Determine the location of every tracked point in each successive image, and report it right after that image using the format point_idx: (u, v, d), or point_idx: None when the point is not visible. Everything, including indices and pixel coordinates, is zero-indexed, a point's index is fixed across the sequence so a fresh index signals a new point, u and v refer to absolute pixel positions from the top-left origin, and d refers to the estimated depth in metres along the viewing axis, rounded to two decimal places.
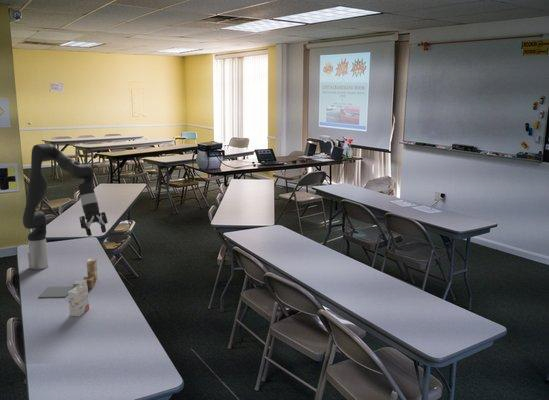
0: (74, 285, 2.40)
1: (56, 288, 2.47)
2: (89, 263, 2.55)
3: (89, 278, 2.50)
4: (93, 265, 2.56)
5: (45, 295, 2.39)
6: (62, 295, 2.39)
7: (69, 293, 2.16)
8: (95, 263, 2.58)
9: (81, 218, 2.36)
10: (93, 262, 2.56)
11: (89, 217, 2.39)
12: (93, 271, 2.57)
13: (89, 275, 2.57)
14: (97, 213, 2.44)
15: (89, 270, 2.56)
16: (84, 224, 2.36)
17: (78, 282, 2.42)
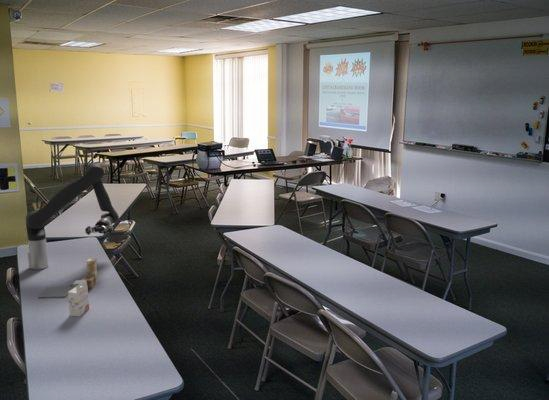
0: (74, 285, 2.40)
1: (56, 288, 2.47)
2: (89, 263, 2.56)
3: (89, 278, 2.50)
4: (93, 265, 2.56)
5: (45, 295, 2.39)
6: (62, 295, 2.39)
7: (69, 293, 2.16)
8: (95, 263, 2.58)
9: (112, 228, 2.76)
10: (93, 262, 2.56)
11: None
12: (93, 271, 2.57)
13: (89, 275, 2.57)
14: None
15: (89, 270, 2.56)
16: (110, 231, 2.73)
17: (78, 282, 2.42)
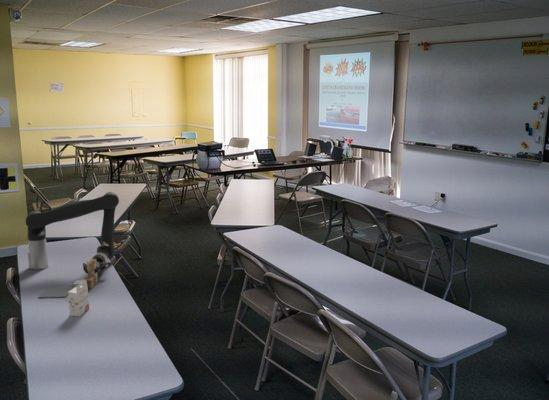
0: (74, 285, 2.40)
1: (56, 288, 2.47)
2: (89, 263, 2.55)
3: (89, 278, 2.50)
4: (93, 265, 2.56)
5: (45, 295, 2.39)
6: (62, 295, 2.39)
7: (69, 293, 2.16)
8: (95, 263, 2.58)
9: (107, 266, 2.65)
10: (93, 262, 2.56)
11: None
12: (93, 271, 2.57)
13: (89, 275, 2.57)
14: None
15: (89, 270, 2.56)
16: None
17: (78, 282, 2.42)
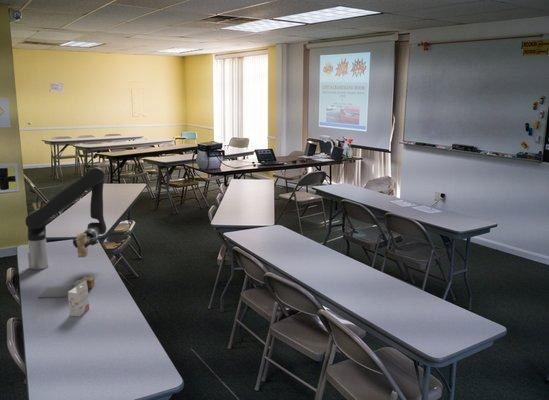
0: (74, 285, 2.40)
1: (56, 288, 2.47)
2: (79, 237, 2.49)
3: (89, 278, 2.50)
4: (83, 239, 2.49)
5: (45, 295, 2.39)
6: (62, 295, 2.39)
7: (69, 293, 2.16)
8: (85, 237, 2.51)
9: (97, 241, 2.58)
10: (83, 236, 2.49)
11: None
12: (83, 245, 2.50)
13: (79, 250, 2.50)
14: None
15: (79, 245, 2.49)
16: None
17: (78, 282, 2.42)
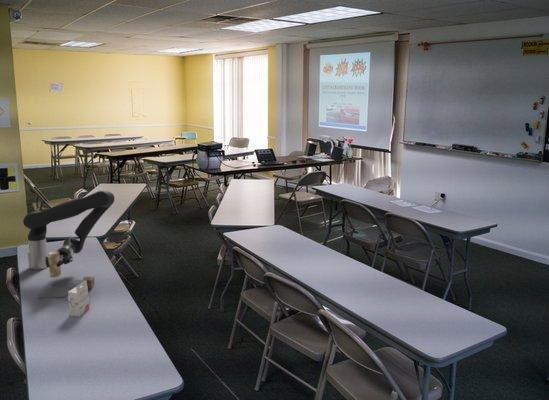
0: (74, 285, 2.40)
1: (56, 288, 2.47)
2: (51, 256, 2.37)
3: (89, 278, 2.50)
4: (55, 258, 2.38)
5: (45, 295, 2.39)
6: (62, 295, 2.39)
7: (69, 293, 2.16)
8: (57, 256, 2.40)
9: (71, 259, 2.47)
10: (55, 255, 2.38)
11: None
12: (55, 265, 2.39)
13: (51, 269, 2.39)
14: None
15: (51, 264, 2.38)
16: None
17: (78, 282, 2.42)
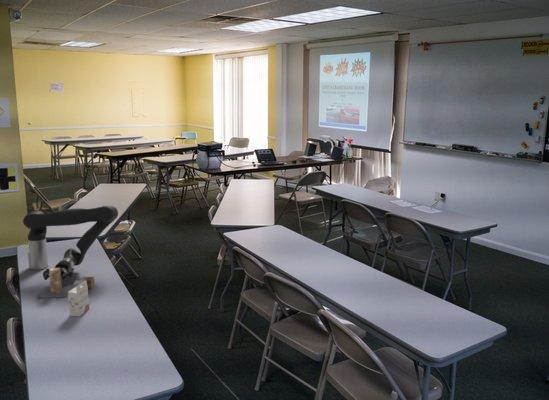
0: (74, 285, 2.40)
1: None
2: (52, 272, 2.39)
3: (89, 278, 2.50)
4: (56, 275, 2.40)
5: (45, 295, 2.39)
6: (62, 295, 2.39)
7: (69, 293, 2.16)
8: (59, 272, 2.41)
9: (73, 271, 2.50)
10: (56, 271, 2.39)
11: None
12: (56, 281, 2.40)
13: (52, 285, 2.41)
14: None
15: (52, 280, 2.40)
16: None
17: (78, 282, 2.42)
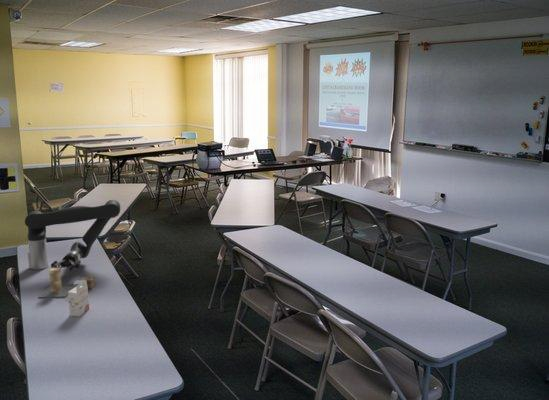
0: (74, 285, 2.40)
1: None
2: (52, 272, 2.39)
3: (89, 278, 2.50)
4: (56, 275, 2.40)
5: (45, 295, 2.39)
6: (62, 295, 2.39)
7: (69, 293, 2.16)
8: (59, 272, 2.41)
9: (80, 263, 2.62)
10: (56, 271, 2.39)
11: None
12: (56, 281, 2.40)
13: (52, 285, 2.41)
14: None
15: (52, 280, 2.40)
16: None
17: (78, 282, 2.42)
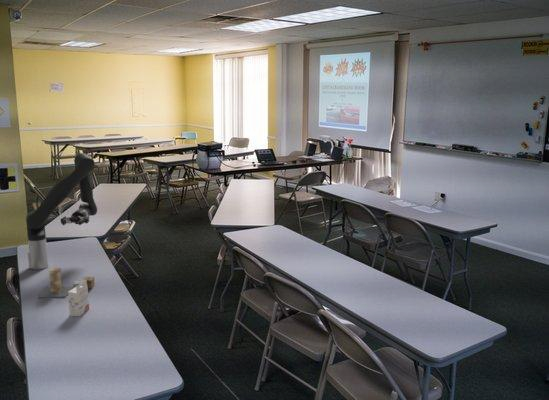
0: (74, 285, 2.40)
1: None
2: (52, 272, 2.39)
3: (89, 278, 2.50)
4: (56, 275, 2.40)
5: (45, 295, 2.39)
6: (62, 295, 2.39)
7: (69, 293, 2.16)
8: (59, 272, 2.41)
9: None
10: (56, 271, 2.39)
11: None
12: (56, 281, 2.40)
13: (52, 285, 2.41)
14: None
15: (52, 280, 2.40)
16: (87, 222, 2.68)
17: (78, 282, 2.42)
